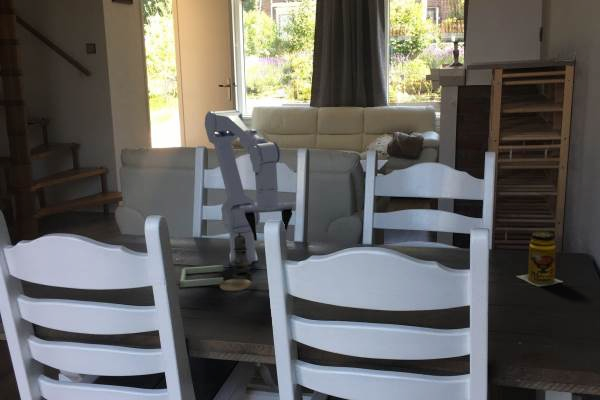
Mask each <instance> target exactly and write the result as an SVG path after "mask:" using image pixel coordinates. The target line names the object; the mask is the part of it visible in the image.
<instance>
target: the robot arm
mask: <svg viewBox="0 0 600 400" xmlns="http://www.w3.org/2000/svg"><path fill="white" fill-rule="evenodd" d="M204 118H205V119H204V128H205V133H206V135H207V138H208V142H209V143H211V144H213V146H214V150H215V153H216V157H217V161H218V165H219V168H220V174H221V176H222V180H223V184H224V188H225V192H226V193H225V194H226V196H227V199H226V201H224V203H223V204H222V205H221V207H220V209H221V210H220V212H221V220H222V221H221V222H222V225H223V227H224V228H225V229H226V231H229V246H230V252H229V264H230V263H231V262H232V261H234V260H235V251H234V248H235V241H234V239H235V237H236V236H238V235H239V232H240V235H241V236H244V237H245V244H246V248H247V250H246V256H247V259H248V260H251V261H252V263H253V262H258V254H257V251H256V241H258V237H257V236H258V235H257V226H258V225H259V223H260V220H261V218H260V217H261V213H263V214H264V213H273V212H274V213H275V212H280V213H281V222H282V221H283V222H284V224H285V229H286V233H287V231H288V227H289V224H290V221H291V218H292V216H293V212H296V211H297V208H296V207H297V205H296V202H293V201H292V202H291V201H290V202H279V188H278V187H279V186H278V171H277V164H278V163H279V161H280V159H281V150H280V147H279V145H278V144H277V143H276V141H267V139H266V138H265V137H263V136H262V134H260V133H259V132H258V130H256V128H249V127H248V126H247V125H246V123H245V122H244V120H243V119H244V117H243V114H242V112H241V111H240V110H239V109H236V108H235V109H233V110H230V109H229V110H218V111H212V110H211V111H209V110H208V111H207V113H206V114H205V117H204ZM238 139H239V145H240V146H241V147H242V148H243V149H244V151H246V152H247V153H248V154H249V159H250V162H251V165H252V167H251V168H252V172H253V173H254V176H255V192H256V203H255V200H254V198H252V197H250V196H247V194H245V189H244V187H243V184H242V183H243V182H242V179H241V175H240V171H239V168H238V165H237V161H236V157H235V153H234V149H233V143H234V142H235V141H237V140H238Z"/></svg>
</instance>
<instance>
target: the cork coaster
mask: <svg viewBox="0 0 600 400" xmlns="http://www.w3.org/2000/svg"><path fill="white" fill-rule="evenodd" d="M251 286H252V281H250V280H249V279H247V278H242V279H238V278H231V279H227V280H223V282H222V283H220V284H219V288H220V289H221V290H222V291H226V292H238V291H243V290H244V291H245V290H246V289H249V288H251Z"/></svg>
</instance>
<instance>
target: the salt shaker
mask: <svg viewBox="0 0 600 400" xmlns="http://www.w3.org/2000/svg"><path fill="white" fill-rule="evenodd" d="M234 241H235V248H234V251H235V260H234V261H232V262H231V263H230V262H229V264H230V266H231V268H232V270H233V271H234V273H233V274H232V275H231V277H232V279H249V278H250V277H252V275H253V274H252V272H250V270H251V267H252V264H253V262H252V261H251V260H248V259H247V256H246V250H247V248H246V244H245V237H244V236H241V235H240V232H239V235H238V236H236V237H235V239H234Z"/></svg>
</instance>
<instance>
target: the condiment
mask: <svg viewBox="0 0 600 400" xmlns="http://www.w3.org/2000/svg"><path fill="white" fill-rule="evenodd" d="M530 237H531V238H530V243H529V248H528V271H527V272H528V274H522V275H516V278H518V279H521V280H524V281H525V282H527V283H529V284H532V285H534V286H536V287H544V286H550V285H555V284H559V283H563V282H564V281H563V280H560V279H557V278H556V277H555V276H556V272H555V271H556V256H557V255H556V253H557V247H556V244H555V238H556V237H555V235H554V233H552V232H546V231H536V232H533V233H531V234H530Z"/></svg>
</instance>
